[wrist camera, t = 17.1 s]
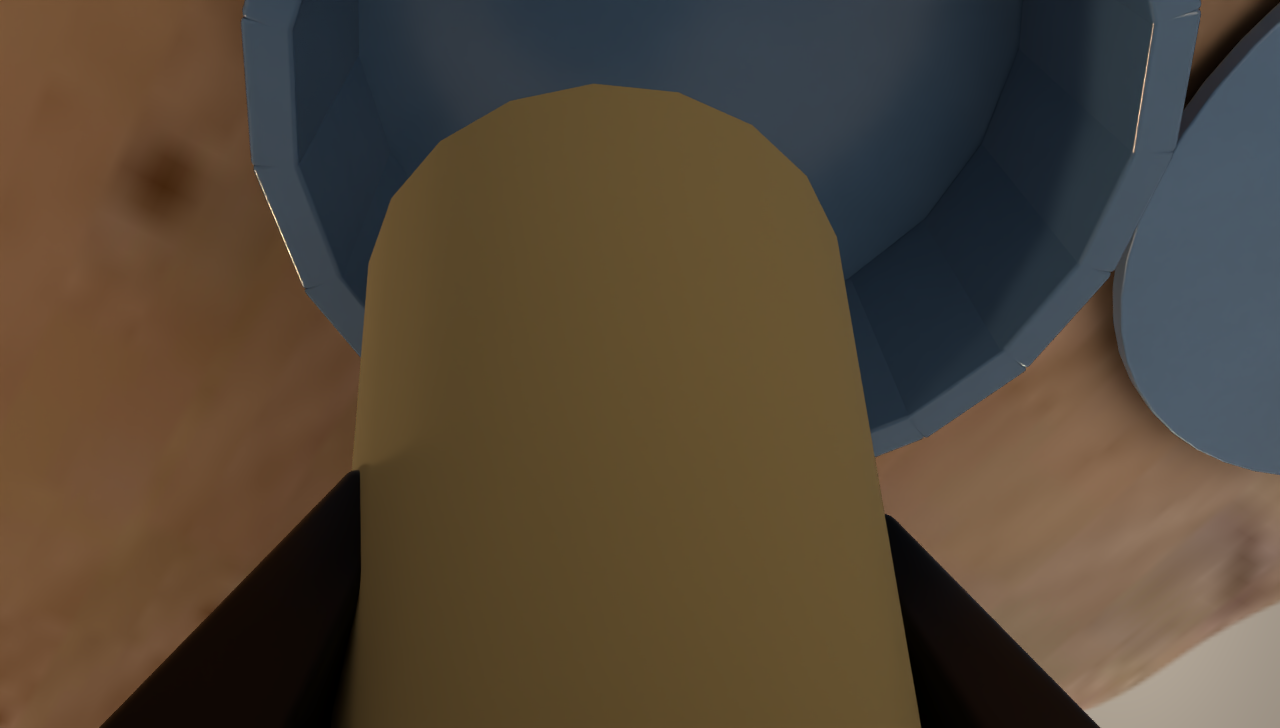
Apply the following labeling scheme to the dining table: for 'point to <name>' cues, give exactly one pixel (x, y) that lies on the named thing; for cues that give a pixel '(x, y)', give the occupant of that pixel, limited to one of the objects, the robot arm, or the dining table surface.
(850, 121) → the basin
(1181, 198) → the lid
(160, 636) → the dining table surface
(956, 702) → the robot arm
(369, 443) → the tan pawn
